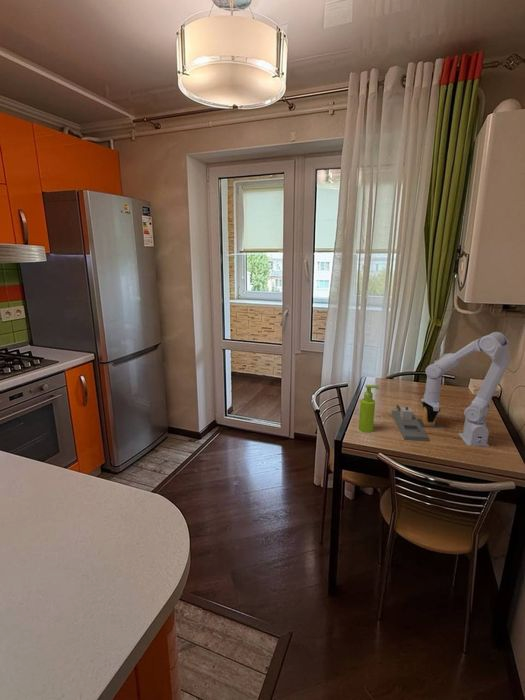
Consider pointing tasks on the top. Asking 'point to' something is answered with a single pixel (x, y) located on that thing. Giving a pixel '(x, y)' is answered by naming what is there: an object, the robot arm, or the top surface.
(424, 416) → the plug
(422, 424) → the mat
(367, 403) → the soap dispenser
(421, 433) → the grey panel with knob
